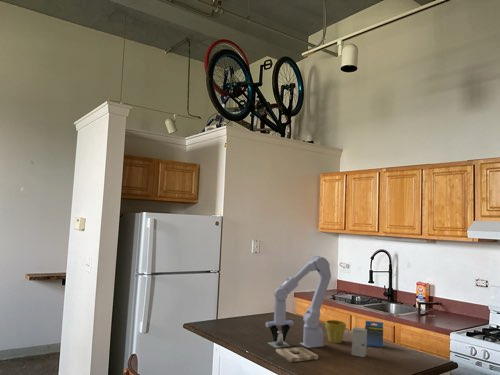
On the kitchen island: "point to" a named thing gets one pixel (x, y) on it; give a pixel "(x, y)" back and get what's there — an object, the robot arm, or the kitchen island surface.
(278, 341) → the steel peg
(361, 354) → the skincare box
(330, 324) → the plant pot
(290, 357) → the hole plate
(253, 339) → the kitchen island surface
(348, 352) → the kitchen island surface
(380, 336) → the label tape box
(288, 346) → the pad
